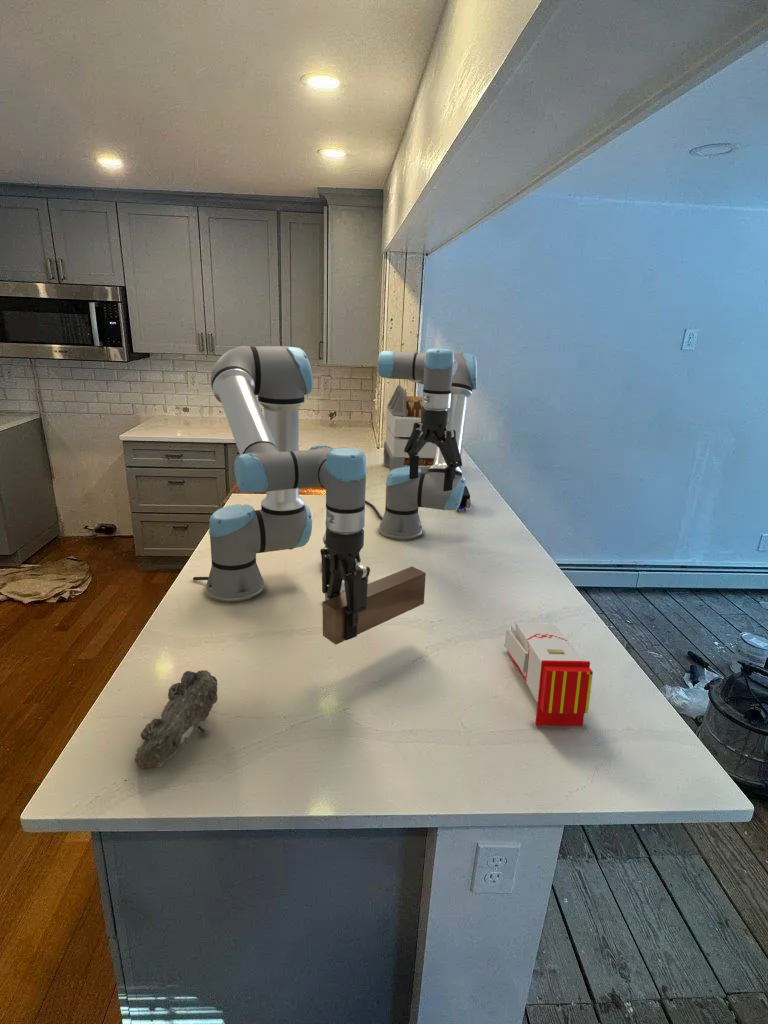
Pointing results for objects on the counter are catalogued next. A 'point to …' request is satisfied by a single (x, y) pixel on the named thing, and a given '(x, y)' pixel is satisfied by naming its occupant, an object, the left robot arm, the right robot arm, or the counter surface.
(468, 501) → the figurine character
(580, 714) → the toy
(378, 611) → the walnut block
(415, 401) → the white slatted box
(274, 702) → the counter surface
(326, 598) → the grey ceramic block
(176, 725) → the fossil
